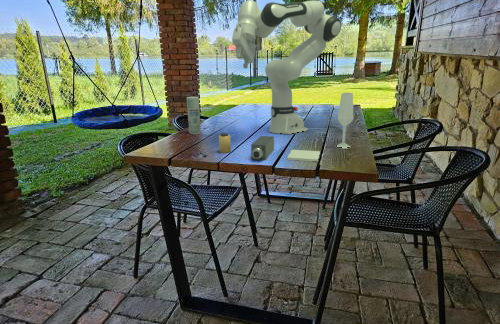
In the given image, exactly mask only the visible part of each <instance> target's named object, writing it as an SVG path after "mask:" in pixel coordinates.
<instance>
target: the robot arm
mask: <svg viewBox="0 0 500 324" xmlns="http://www.w3.org/2000/svg"><path fill="white" fill-rule="evenodd" d="M287 19H289V20H290V22H291V23H292V25H293V26H294V27H297V28H301V27H303V28H304V30H305V32H307V33H309V34H311V36H310V37H309V38H307V39H306V40H304V41H303V42H301V43H300V44H299V45H297V46H296V47H295V48H293V49H292V50H291V53H290V54H289V56H287V57H285V58H281V59H279V58H278V59H273V60H271V61H269V62H268V63H266V65H265V69H264V72H265V76H266V77H267V79H268V80H269V81H268V82H269V84H270V89H271V106H270V107H271V108H270V116H271V119H270V126H269V130H268V132H270V133H273V134H280V133H282V134H285V135H292V133H294V134H298V133H297V132H299V133H303V132H302V131H304V132H308V131H309V129H308V127H305V122H304V119H303V118H301V117H300V116H299V114H297V113H295V111H296V112H297V111H298V110H299V108H298V107H297V106H293V91H292V89H291V88H290V85H289V82H292V81H294V80H297V79H299V77H300V76H301V74H302V71H303V69H305V67H306V66H308V65H309V64H310V63H312V62H313V61H314V60H315V59H316V58H319V56H320V55H322V53H323V52H324V50H325V49H326V48H327V47H326V46H327V42H329V43H330V42H332V41H333V40H334V39H335V38H336V37H337V36H338V35H339V34H340V33H341V31H342V21H341V19H340V18H338V17H337V16H335V15H330V14H326V13H325V6H324V4H323V2H321V1H319V0H307V1H302V2H301V1H295V2H288V3H278V2H267V3H266V4H265V6H263V8H262V10H261V9H260V7H259V6H258V4H257V2H256V1H254V0H246V1H243V3H241V5H240V7H239V11H238V16H237V23H236V26H235V27H234V29H233V33H232V37H231V38H232V39H231V40H232V44H233V45H234V47H235V57H236V58H237V59H241V58H242V59H243V60H244V63H243V66H242V67H243V69H248V68H249V64H253V63H254V61H255V56H256V48H257V46H258V43H257V37H258V38H262V39H266V38H268V37H269V36H270V35H271V34H272V33H273V32H274V31H275V29H277V28H278V26H279V25H280V24H281V23H283V21H285V20H287ZM307 130H308V131H307Z"/></svg>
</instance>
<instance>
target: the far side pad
mask: <svg viewBox="0 0 500 324" xmlns="http://www.w3.org/2000/svg"><path fill="white" fill-rule="evenodd" d="M319 155H320V156H321V151H319V150H301V149H291V150H290V153H288V155H287V159H286V160H287V161H297V160H298V162H312V161H317V162H316V163H318V162H319V160H318V159H320V156H319Z"/></svg>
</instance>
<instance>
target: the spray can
mask: <svg viewBox="0 0 500 324" xmlns="http://www.w3.org/2000/svg"><path fill="white" fill-rule="evenodd" d="M199 99H200V98H199V96H187V97H186V109H187V119H188V121H187V122H188V132H189V134H190V135H199V134H201V120H200V117H201V116H200V100H199Z"/></svg>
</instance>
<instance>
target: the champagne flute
mask: <svg viewBox="0 0 500 324" xmlns="http://www.w3.org/2000/svg"><path fill="white" fill-rule="evenodd" d="M353 120H354V93H353V92H341V94H340V100H339V107H338V113H337V121H338V122H339V123H340V124H341V125H342V137H341V138H342V140H341V142H340V143H338V144H336V145H337V147H342V148H341V149H348V148H347V147H350V148H351V145H349V144H347V143H346V132H347V126H348V125H350V124H351V123H352V122H353ZM337 147H336V148H337Z"/></svg>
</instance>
